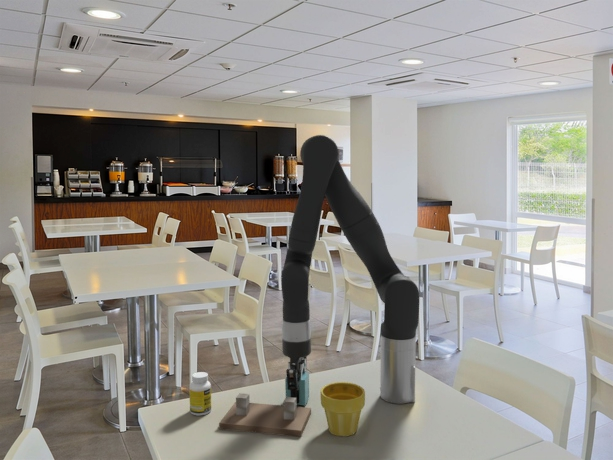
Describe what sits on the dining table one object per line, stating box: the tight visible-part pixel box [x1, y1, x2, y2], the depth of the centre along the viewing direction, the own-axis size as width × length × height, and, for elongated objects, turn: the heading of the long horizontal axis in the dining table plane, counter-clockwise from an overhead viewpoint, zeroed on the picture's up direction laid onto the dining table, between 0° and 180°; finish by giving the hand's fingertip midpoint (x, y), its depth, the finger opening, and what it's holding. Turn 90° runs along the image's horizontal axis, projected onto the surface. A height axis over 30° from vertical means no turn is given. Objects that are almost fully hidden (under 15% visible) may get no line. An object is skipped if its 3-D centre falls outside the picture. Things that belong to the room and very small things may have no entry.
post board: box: [218, 392, 312, 438], centre depth 132 cm, size 20×12×6 cm, turn 78°
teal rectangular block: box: [284, 371, 310, 406], centre depth 143 cm, size 5×5×7 cm
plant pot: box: [320, 381, 366, 437], centre depth 127 cm, size 10×10×10 cm
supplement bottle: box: [188, 371, 212, 417], centre depth 137 cm, size 5×5×10 cm
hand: (297, 397), depth 143 cm, fingers closed on teal rectangular block, 5 cm apart
